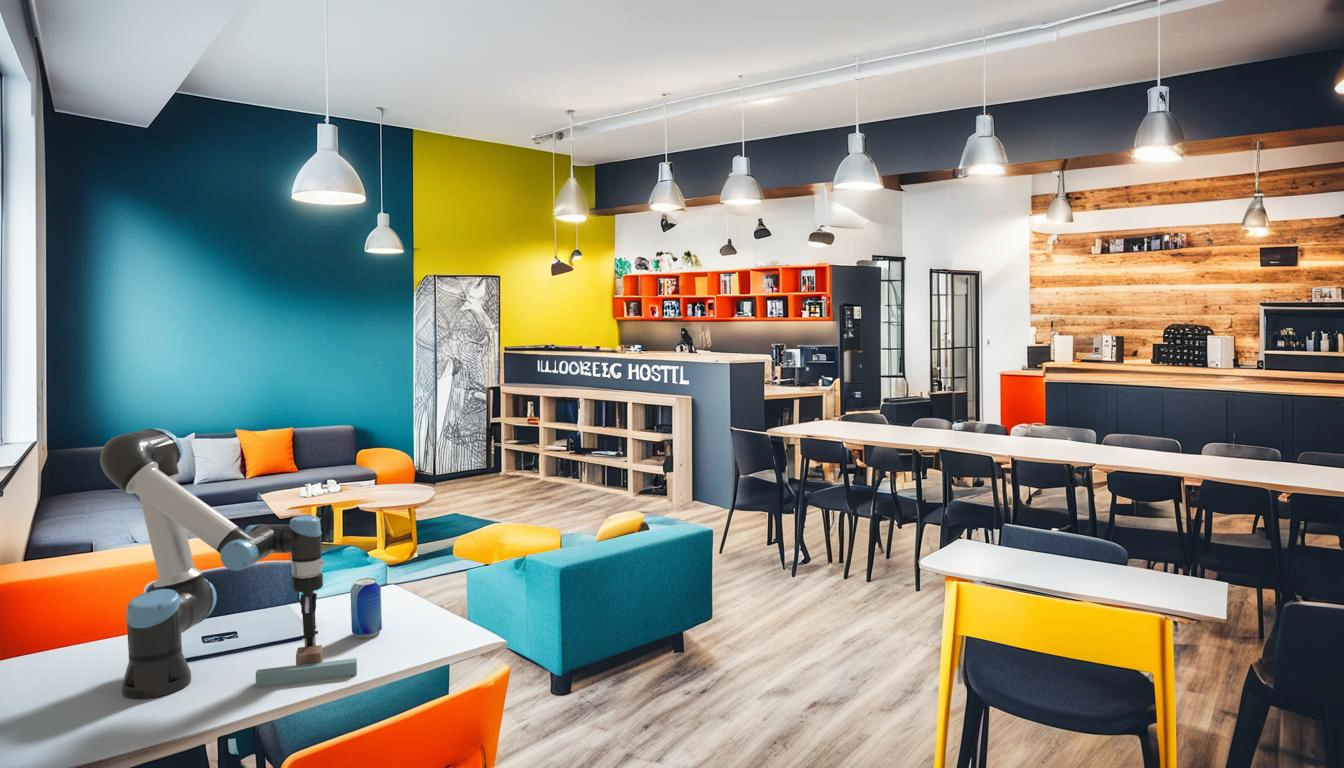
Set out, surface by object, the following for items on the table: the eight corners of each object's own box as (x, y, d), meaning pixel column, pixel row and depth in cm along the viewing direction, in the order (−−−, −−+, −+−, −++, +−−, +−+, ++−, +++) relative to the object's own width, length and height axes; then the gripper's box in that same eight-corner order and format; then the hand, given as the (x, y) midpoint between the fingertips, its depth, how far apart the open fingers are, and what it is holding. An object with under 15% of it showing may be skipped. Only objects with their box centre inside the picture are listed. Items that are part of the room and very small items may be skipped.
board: (256, 687, 221) (255, 674, 221) (257, 683, 224) (257, 669, 224) (356, 675, 229) (356, 662, 228) (357, 670, 232) (356, 658, 231)
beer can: (362, 641, 253) (361, 587, 252) (346, 635, 258) (344, 582, 257) (387, 633, 259) (386, 580, 258) (371, 627, 265) (369, 575, 263)
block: (296, 678, 227) (295, 655, 226) (298, 669, 233) (297, 647, 232) (321, 675, 229) (320, 653, 228) (322, 666, 234) (322, 644, 234)
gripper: (321, 579, 229) (324, 667, 231) (323, 566, 241) (327, 649, 243) (289, 582, 226) (293, 671, 228) (294, 568, 239) (297, 652, 240)
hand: (310, 659), depth 235 cm, fingers closed
